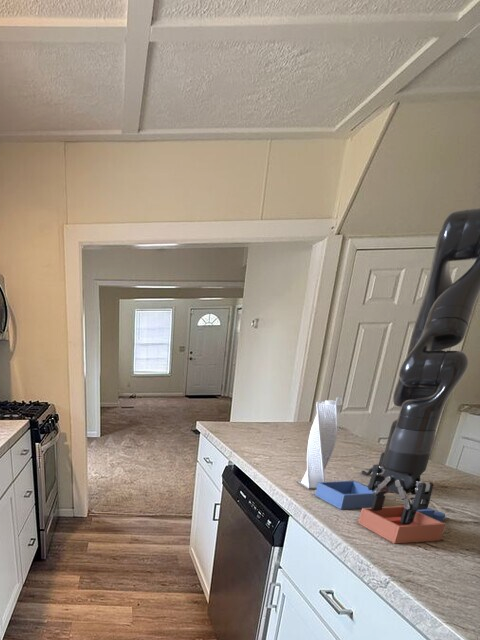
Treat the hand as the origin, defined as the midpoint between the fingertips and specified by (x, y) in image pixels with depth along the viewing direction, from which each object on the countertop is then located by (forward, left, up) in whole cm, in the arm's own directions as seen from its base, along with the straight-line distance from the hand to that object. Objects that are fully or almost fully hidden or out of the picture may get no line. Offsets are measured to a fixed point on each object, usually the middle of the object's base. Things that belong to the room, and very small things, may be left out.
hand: (390, 516), depth 94 cm
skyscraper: (-34, +4, -4) cm, 34 cm away
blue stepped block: (-5, +15, -4) cm, 16 cm away
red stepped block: (0, +2, -3) cm, 4 cm away
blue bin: (-20, +5, -4) cm, 21 cm away
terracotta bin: (0, +3, -4) cm, 5 cm away
